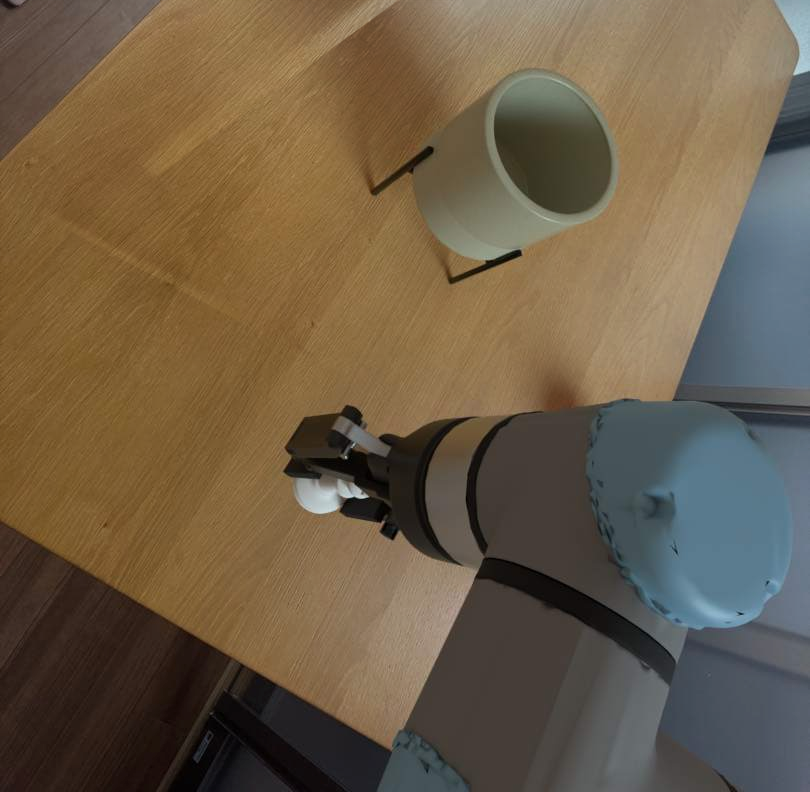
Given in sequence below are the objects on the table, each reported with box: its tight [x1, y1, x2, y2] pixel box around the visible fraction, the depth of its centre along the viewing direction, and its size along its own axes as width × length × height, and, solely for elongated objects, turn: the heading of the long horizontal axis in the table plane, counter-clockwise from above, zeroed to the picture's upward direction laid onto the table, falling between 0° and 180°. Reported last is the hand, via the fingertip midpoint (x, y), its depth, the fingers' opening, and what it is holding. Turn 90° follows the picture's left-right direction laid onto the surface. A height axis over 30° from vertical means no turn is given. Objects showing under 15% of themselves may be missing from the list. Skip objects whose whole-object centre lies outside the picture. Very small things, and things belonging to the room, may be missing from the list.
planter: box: [370, 67, 620, 285], centre depth 76 cm, size 15×16×23 cm
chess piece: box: [291, 474, 369, 515], centre depth 53 cm, size 5×5×10 cm
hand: (324, 479), depth 57 cm, fingers closed on chess piece, 5 cm apart
